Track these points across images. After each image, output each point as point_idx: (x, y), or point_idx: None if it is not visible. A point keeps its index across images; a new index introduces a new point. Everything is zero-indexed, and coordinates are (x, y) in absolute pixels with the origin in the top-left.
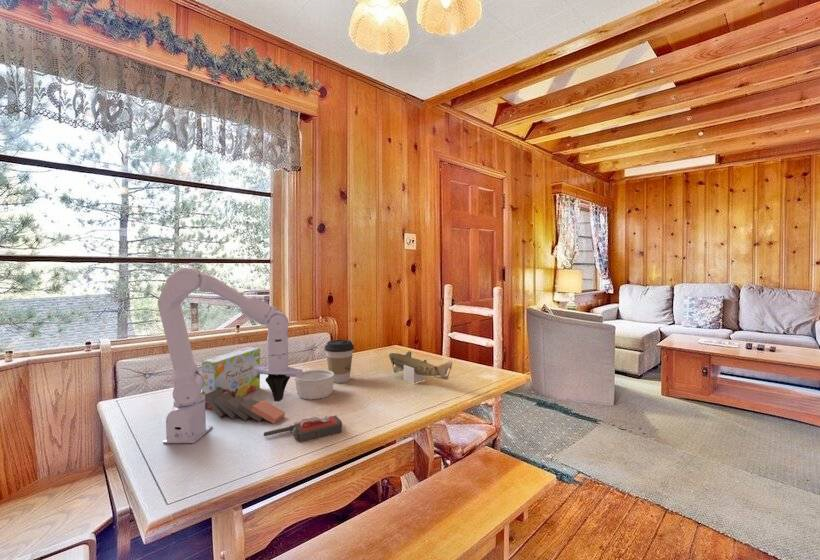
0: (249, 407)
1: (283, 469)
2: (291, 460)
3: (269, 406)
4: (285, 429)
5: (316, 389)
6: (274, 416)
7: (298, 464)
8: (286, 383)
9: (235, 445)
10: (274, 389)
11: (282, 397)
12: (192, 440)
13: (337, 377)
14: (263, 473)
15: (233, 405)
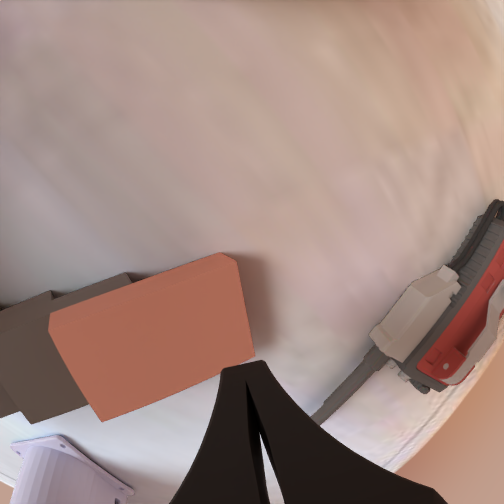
0: (67, 395)
1: (423, 442)
2: (428, 423)
3: (136, 333)
4: (363, 383)
5: None
6: (236, 352)
7: (444, 419)
8: (356, 460)
9: None
10: (268, 501)
11: (269, 371)
12: (126, 493)
13: None
14: (393, 465)
15: (9, 412)
